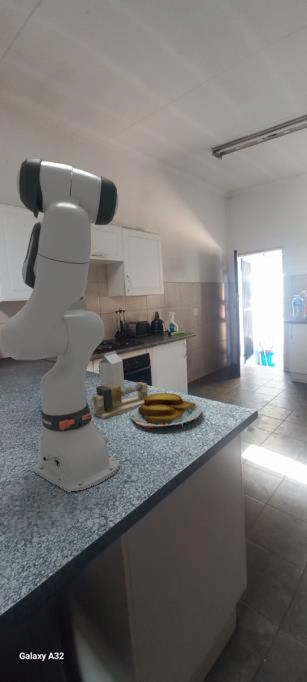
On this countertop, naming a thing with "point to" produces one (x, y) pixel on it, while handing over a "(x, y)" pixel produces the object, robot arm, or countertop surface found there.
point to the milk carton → (111, 369)
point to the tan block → (115, 393)
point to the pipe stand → (126, 403)
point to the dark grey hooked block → (105, 396)
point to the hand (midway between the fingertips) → (64, 332)
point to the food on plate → (165, 411)
